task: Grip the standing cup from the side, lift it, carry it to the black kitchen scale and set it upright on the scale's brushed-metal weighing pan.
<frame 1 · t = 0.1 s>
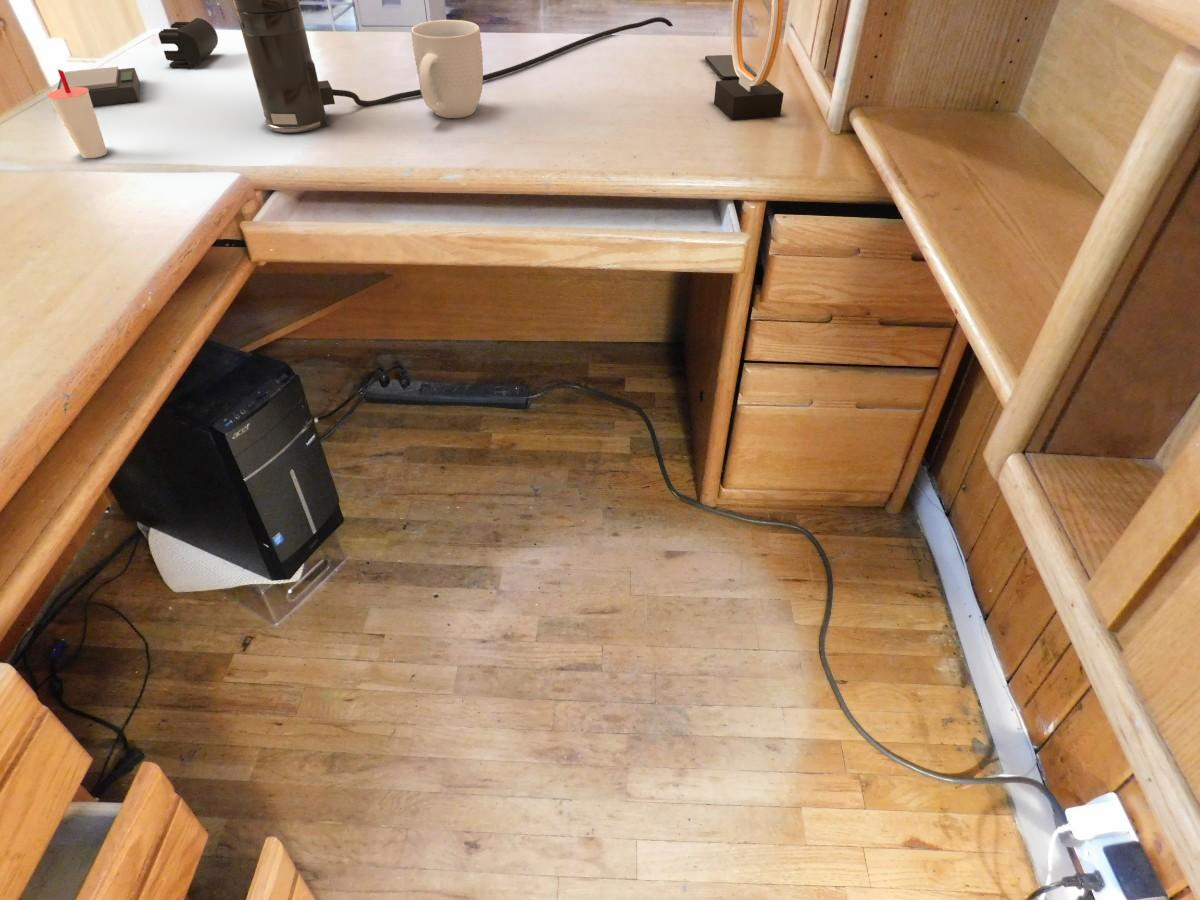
lamp: (746, 111, 134), on the table
scale: (102, 95, 138), on the table
cup: (95, 155, 117), on the table
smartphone: (729, 71, 151), on the table
end cap: (197, 62, 153), on the table
mug: (452, 115, 132), on the table
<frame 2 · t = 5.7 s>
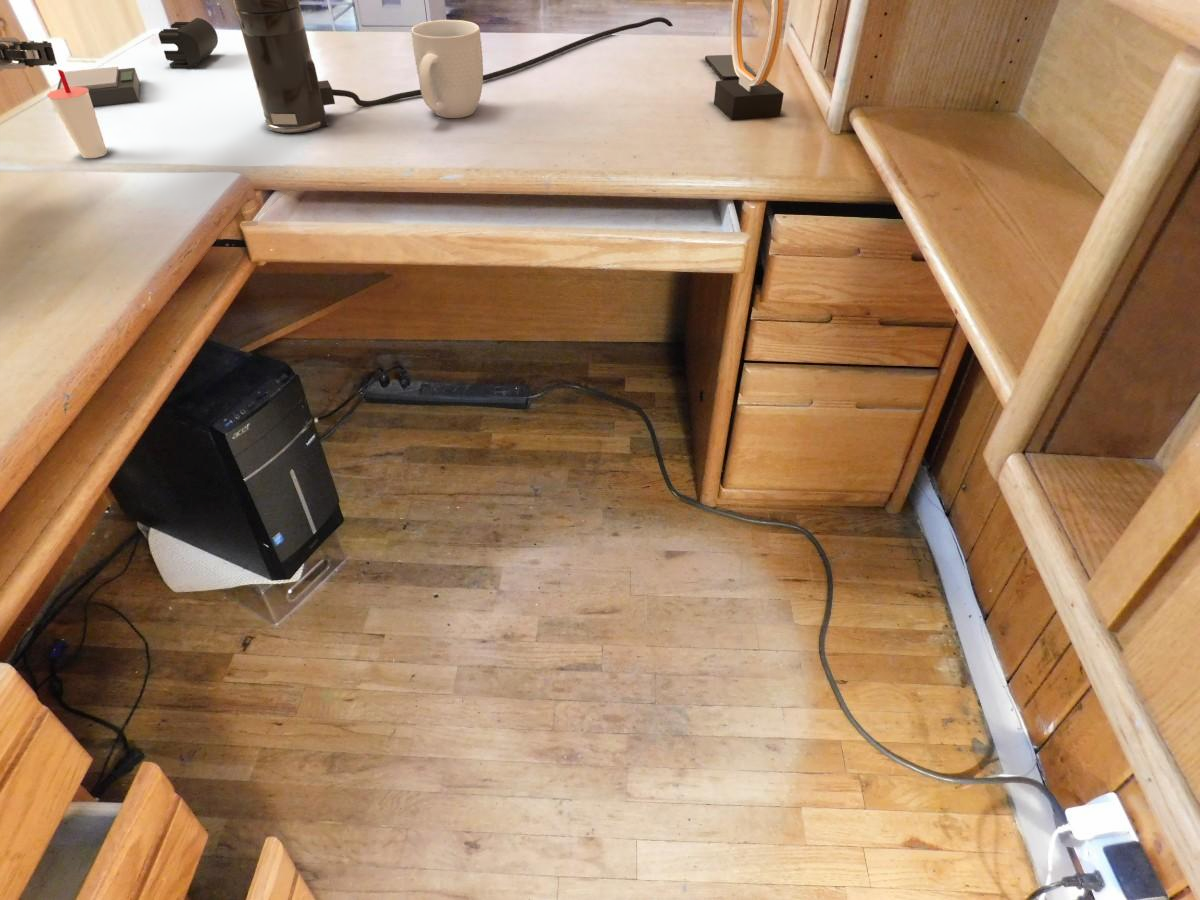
hand: (10, 51, 99), 17 cm above the table, tool horizontal, fingers open, 8 cm apart
nothing on the table moved.
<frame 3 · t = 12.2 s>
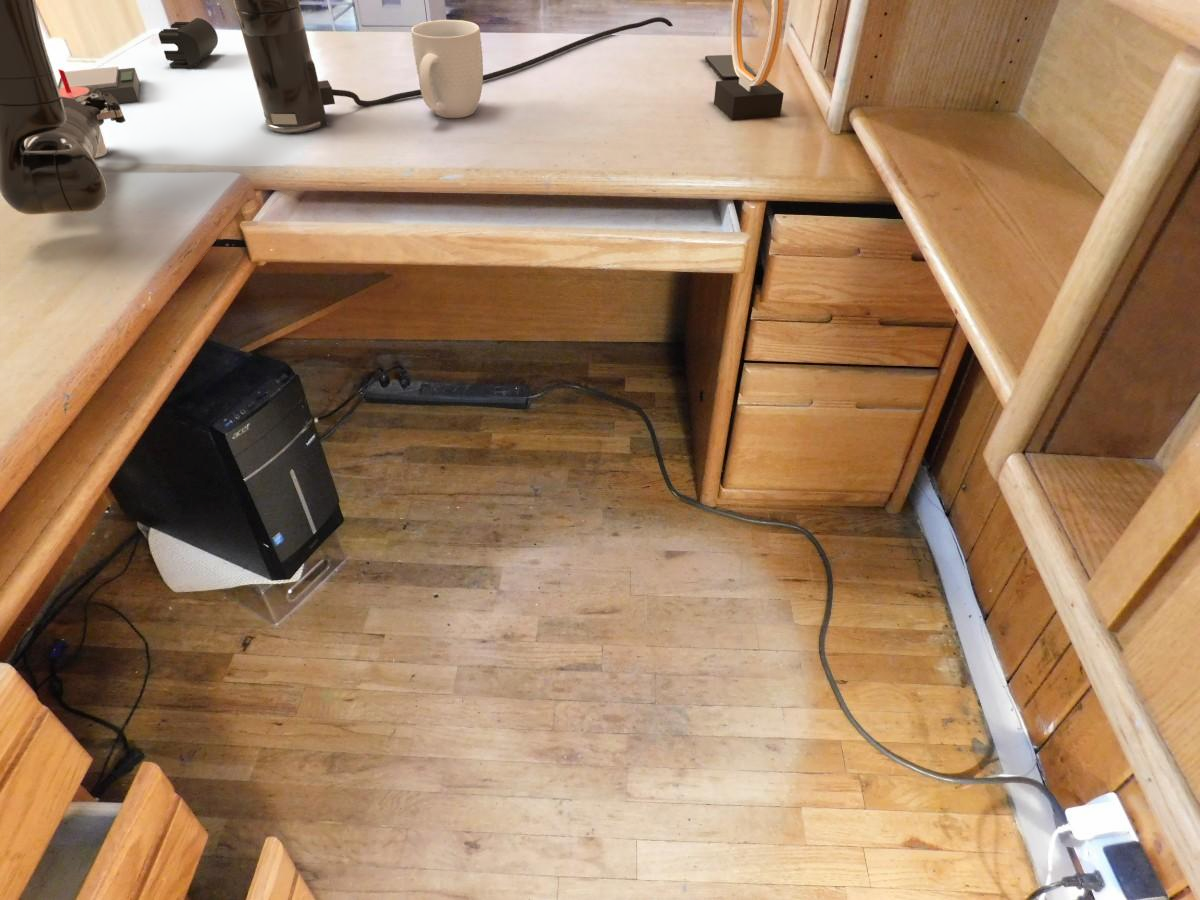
hand: (73, 97, 114), 8 cm above the table, tool horizontal, fingers closed on cup, 5 cm apart
cup: (95, 155, 117), on the table, touching gripper
everything else where it was.
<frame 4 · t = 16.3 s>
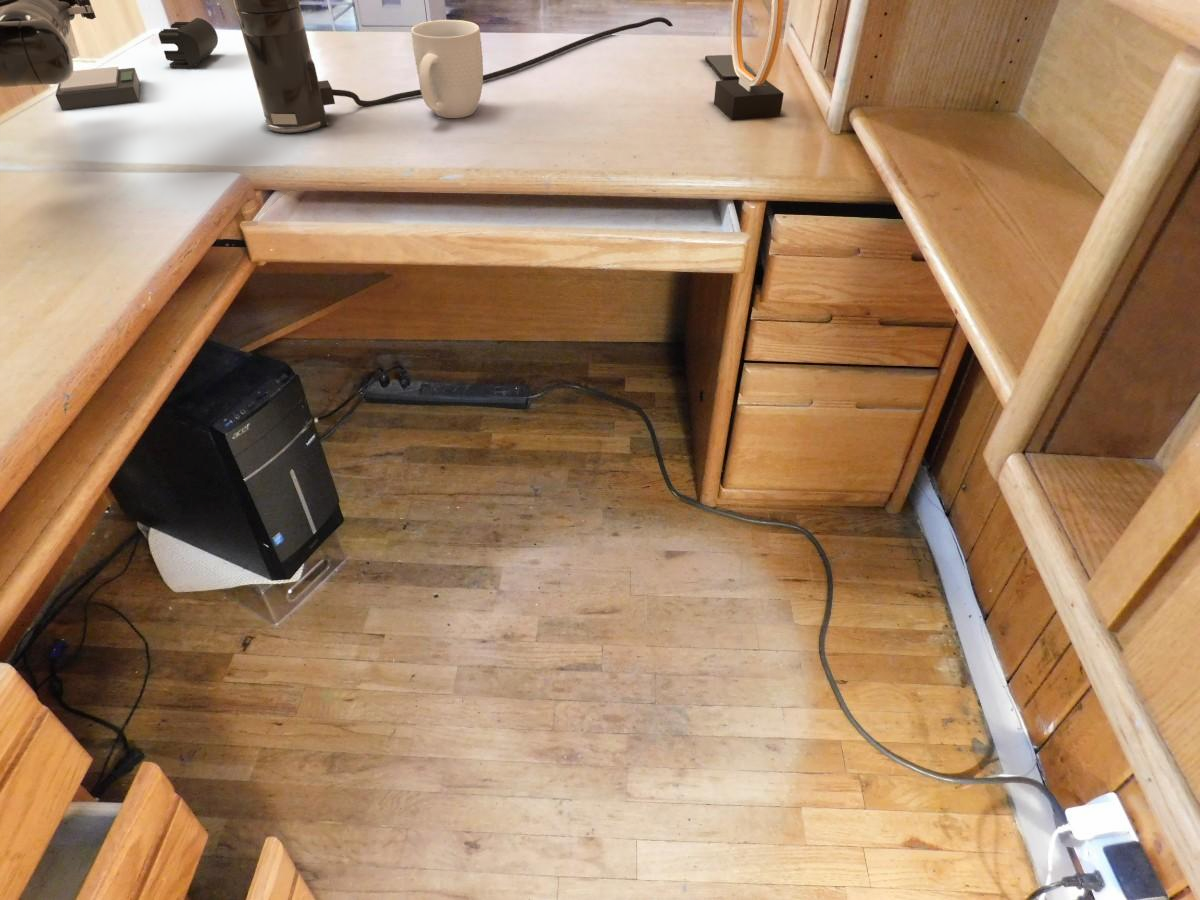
cup: (68, 58, 120), point 10 cm above the table, touching gripper
everything else where it was.
when the fingers open (11 cm above the table, at t = 20.7 s): cup moves 3 cm, resting on scale.
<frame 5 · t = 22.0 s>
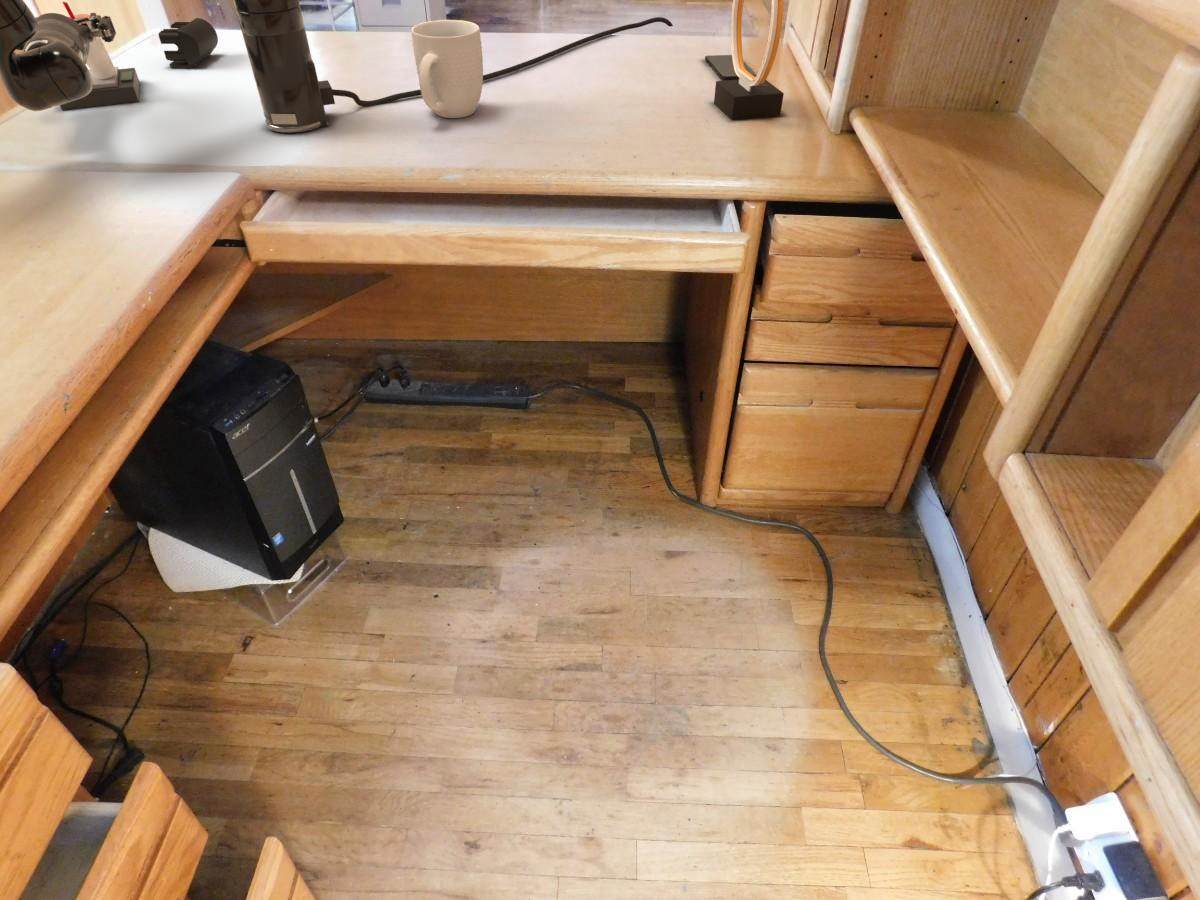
hand: (67, 21, 128), 12 cm above the table, tool horizontal, fingers open, 8 cm apart
cup: (107, 75, 135), point 3 cm above the table, touching scale
everything else where it was.
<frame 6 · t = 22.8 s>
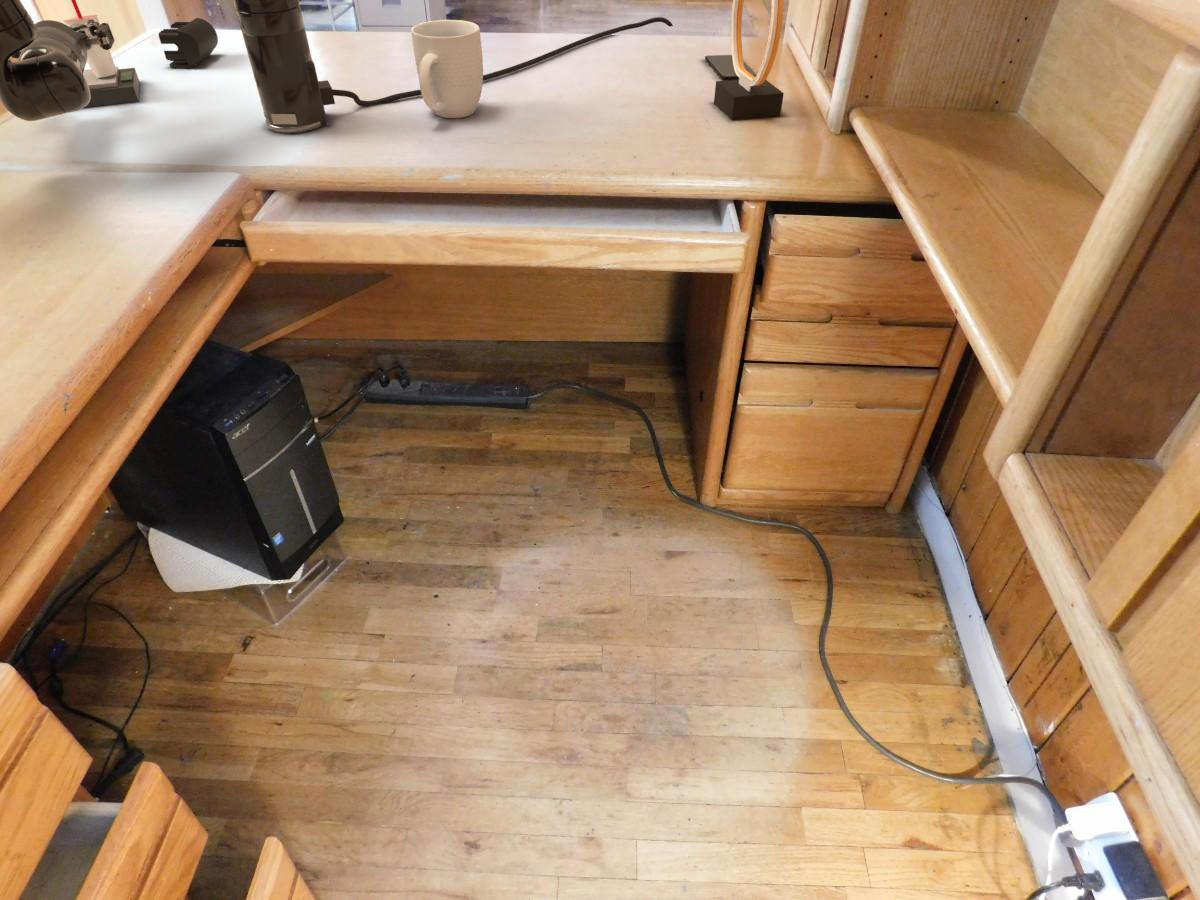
hand: (64, 28, 125), 12 cm above the table, tool horizontal, fingers open, 8 cm apart
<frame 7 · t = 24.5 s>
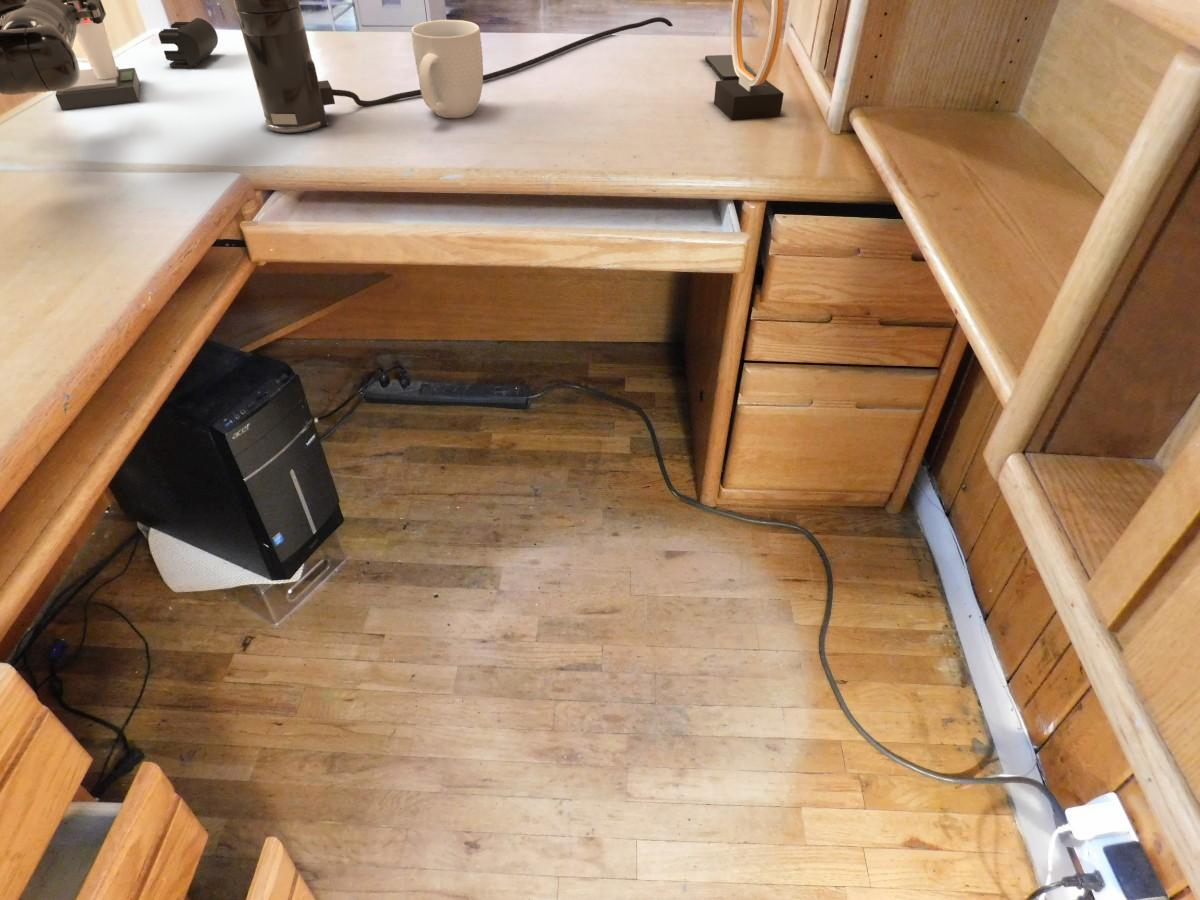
hand: (52, 2, 117), 17 cm above the table, tool horizontal, fingers open, 8 cm apart
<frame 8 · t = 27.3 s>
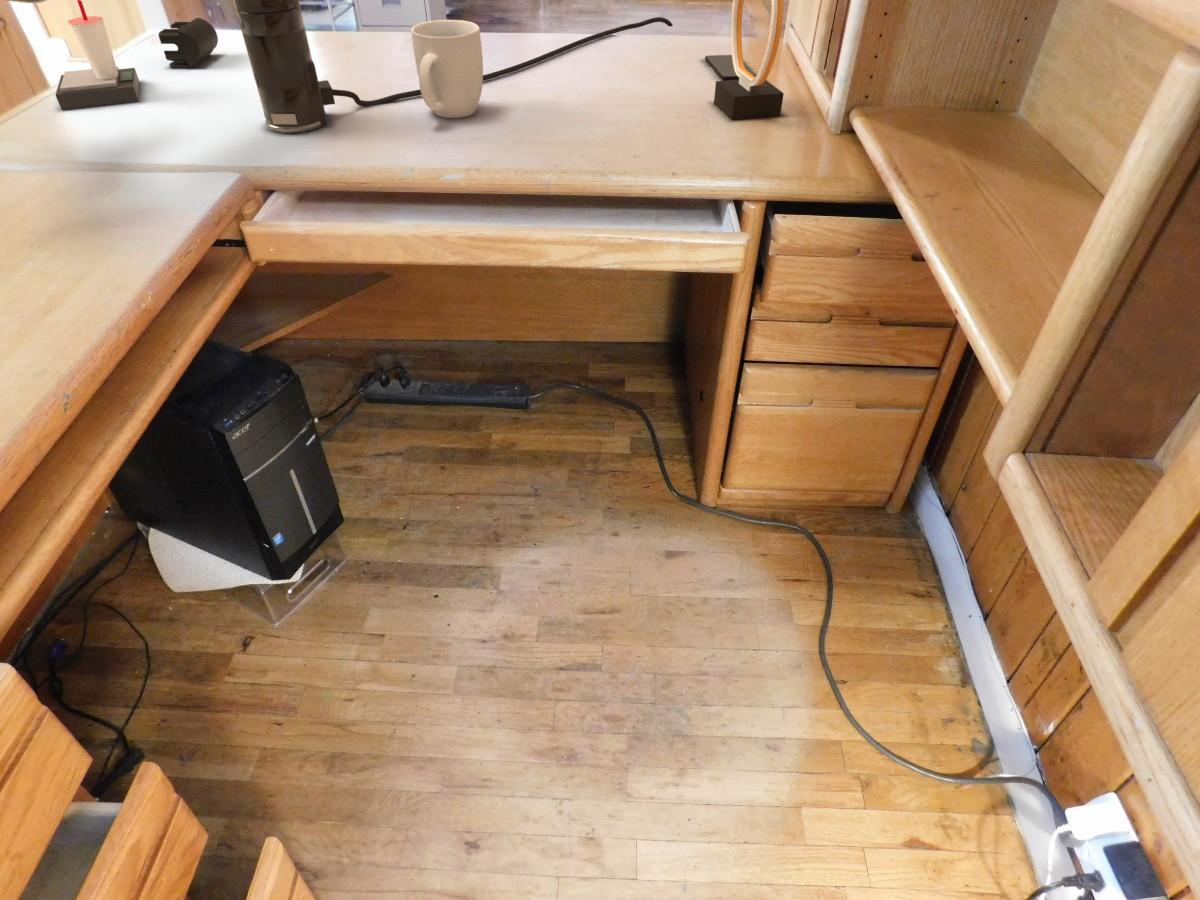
at the end: cup inside the target area on the scale (3.0 cm from its centre), point 3.0 cm above the scale's base; cup tilted 0°; the gripper is holding nothing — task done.
